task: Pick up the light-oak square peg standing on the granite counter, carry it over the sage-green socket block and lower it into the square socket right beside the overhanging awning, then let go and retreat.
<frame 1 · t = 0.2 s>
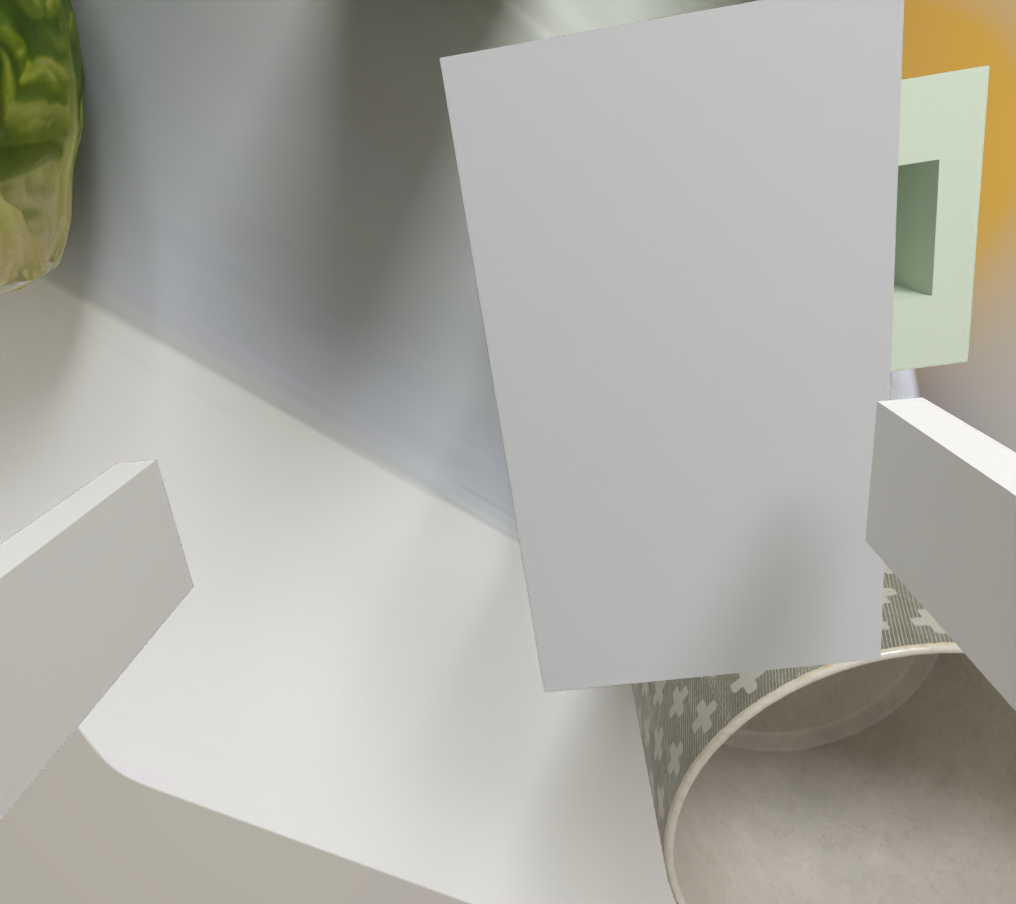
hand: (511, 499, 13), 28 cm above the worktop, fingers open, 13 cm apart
planter: (769, 594, 46), on the worktop
socket station: (721, 241, 38), on the worktop
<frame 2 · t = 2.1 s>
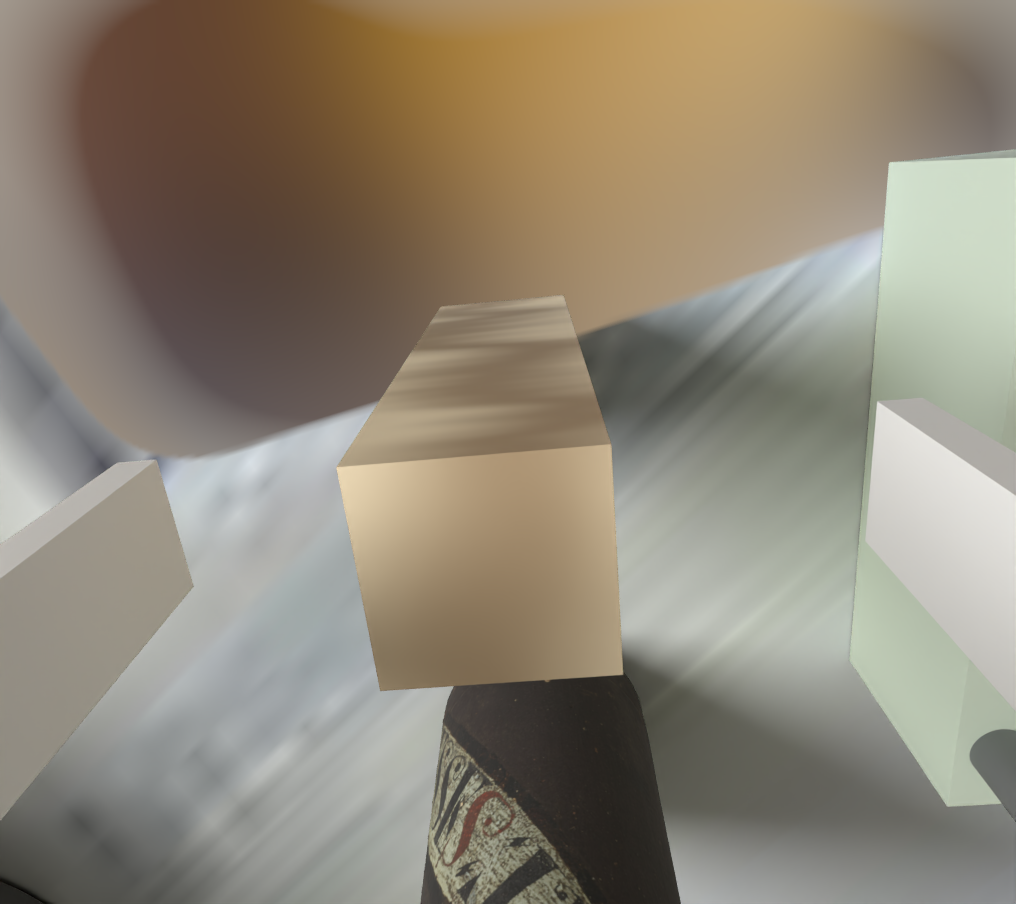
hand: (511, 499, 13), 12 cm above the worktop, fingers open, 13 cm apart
peg: (508, 360, 24), on the worktop
container: (544, 717, 30), on the worktop
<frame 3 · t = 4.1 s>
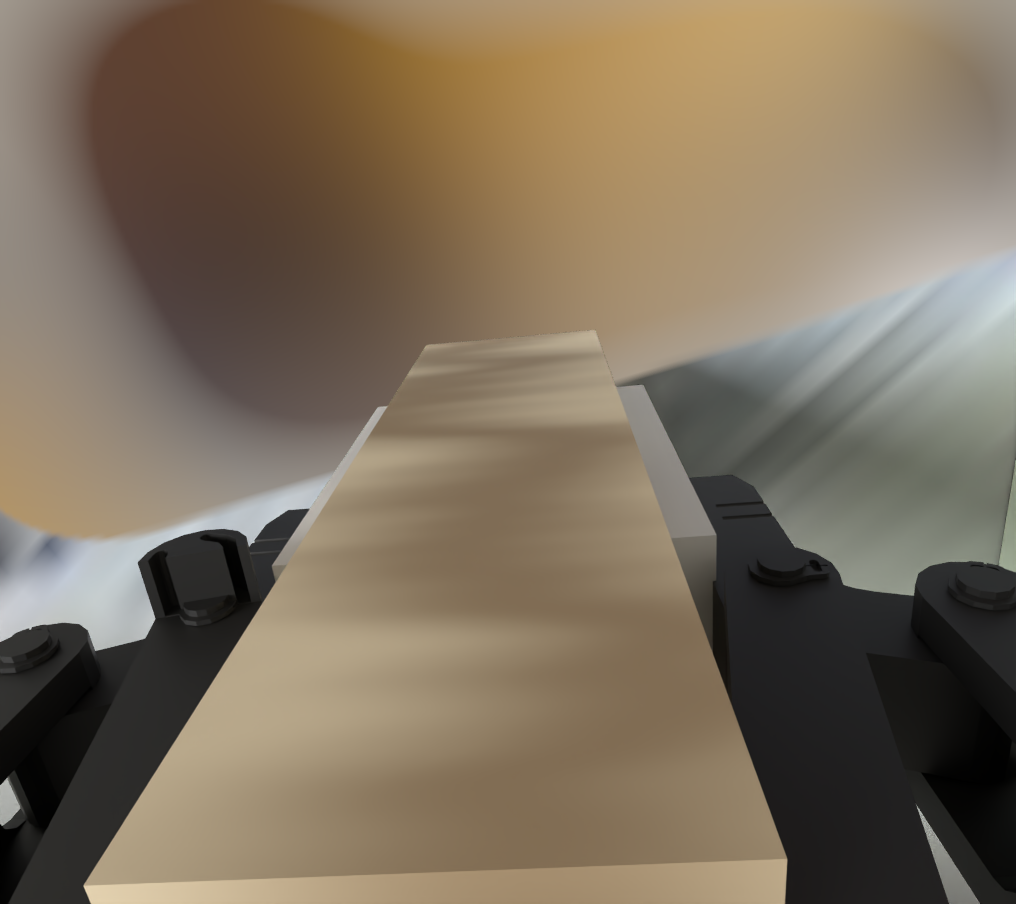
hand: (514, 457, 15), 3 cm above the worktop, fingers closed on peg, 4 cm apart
peg: (518, 417, 18), on the worktop, touching gripper
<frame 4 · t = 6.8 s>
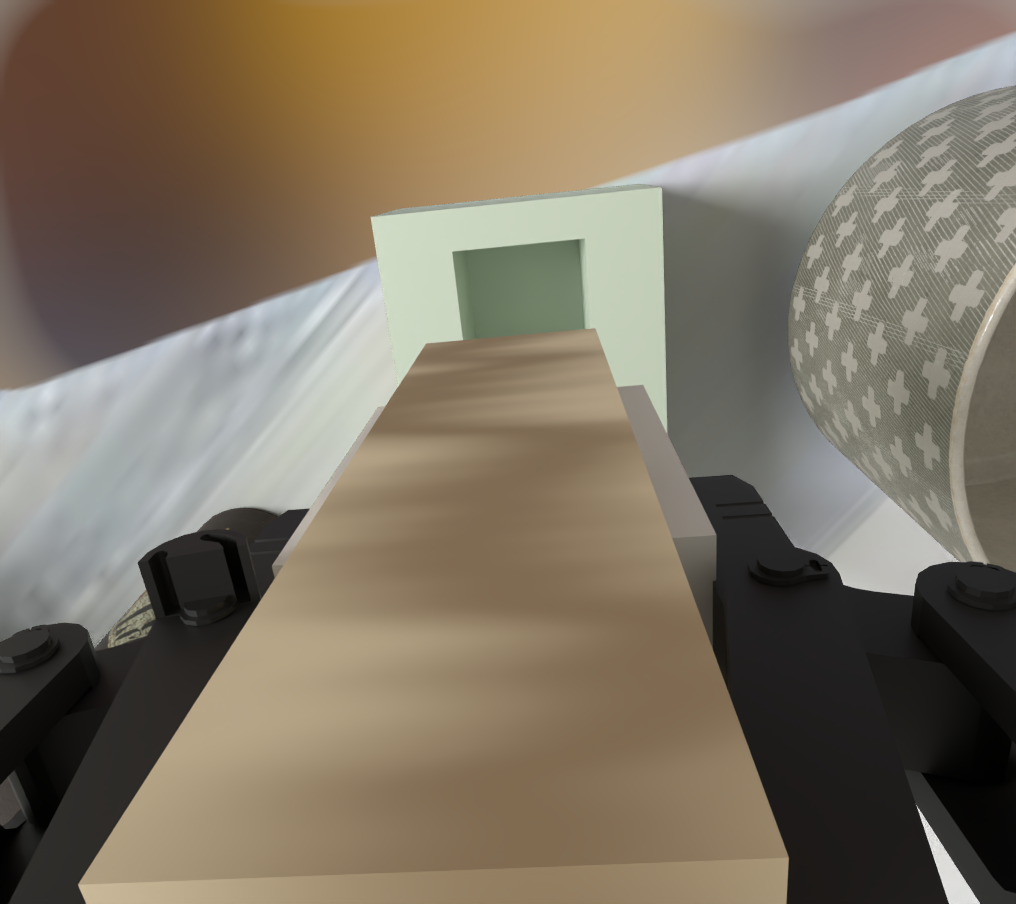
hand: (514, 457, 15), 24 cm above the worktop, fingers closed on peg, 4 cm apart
planter: (954, 295, 38), on the worktop
peg: (517, 416, 18), point 22 cm above the worktop, touching gripper
container: (258, 568, 45), on the worktop
socket station: (533, 371, 40), on the worktop
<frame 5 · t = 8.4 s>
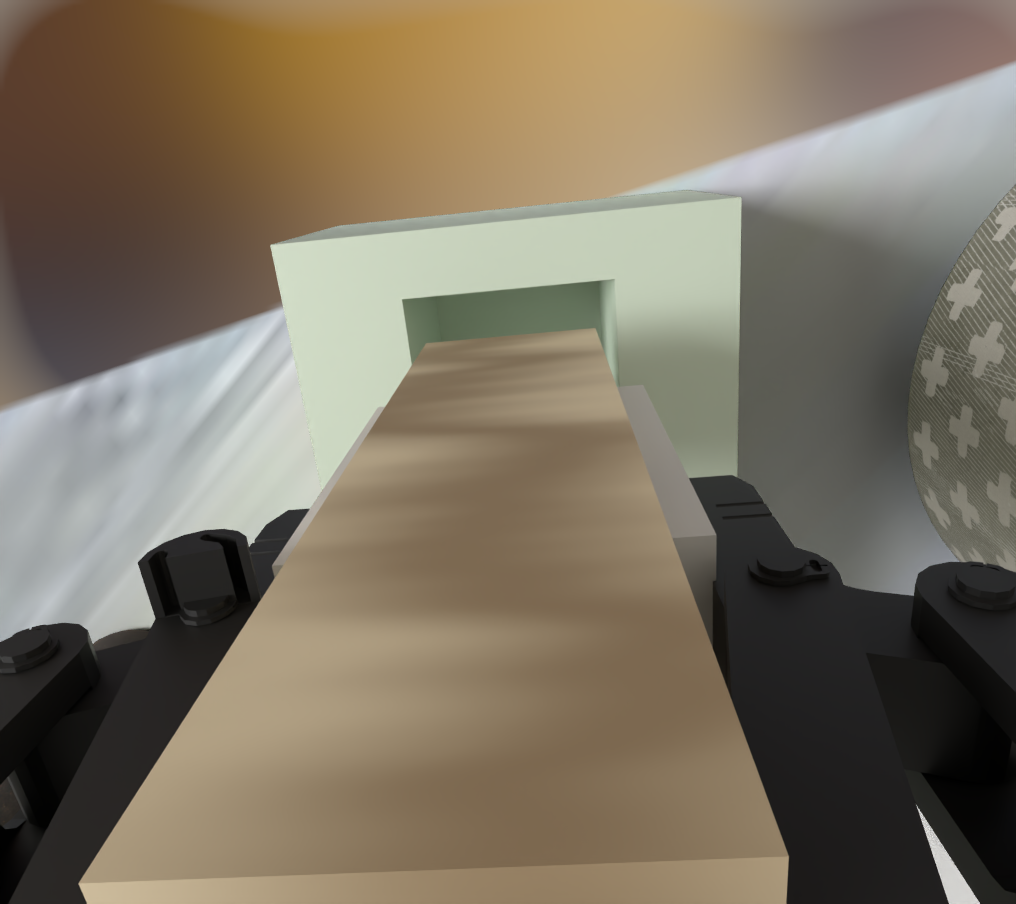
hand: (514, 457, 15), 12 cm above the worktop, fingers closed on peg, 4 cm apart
peg: (517, 416, 18), point 9 cm above the worktop, touching gripper
container: (163, 703, 33), on the worktop
socket station: (532, 452, 28), on the worktop
when the fingers open (8 cm above the worktop, at t = 9.7 s): peg drops 4 cm, resting on socket station.
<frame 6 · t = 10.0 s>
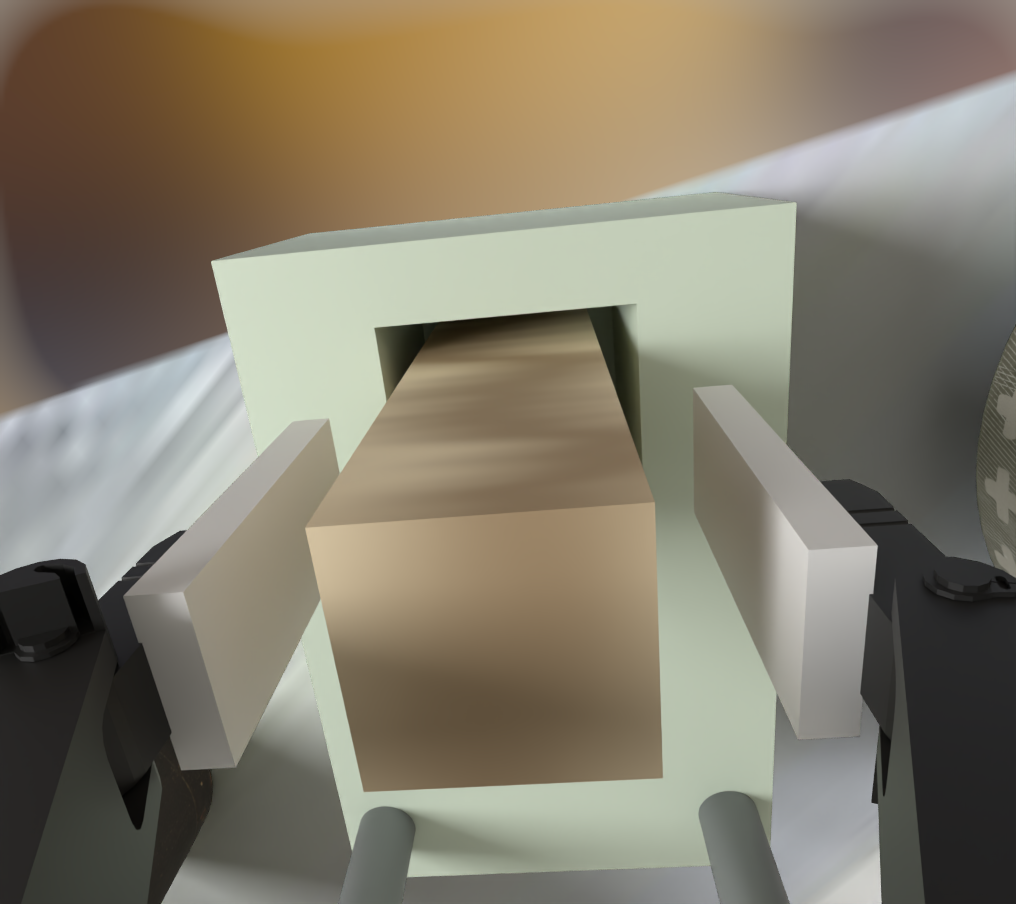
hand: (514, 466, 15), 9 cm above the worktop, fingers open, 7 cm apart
peg: (520, 369, 22), point 1 cm above the worktop, touching socket station
container: (121, 765, 30), on the worktop
socket station: (534, 492, 25), on the worktop
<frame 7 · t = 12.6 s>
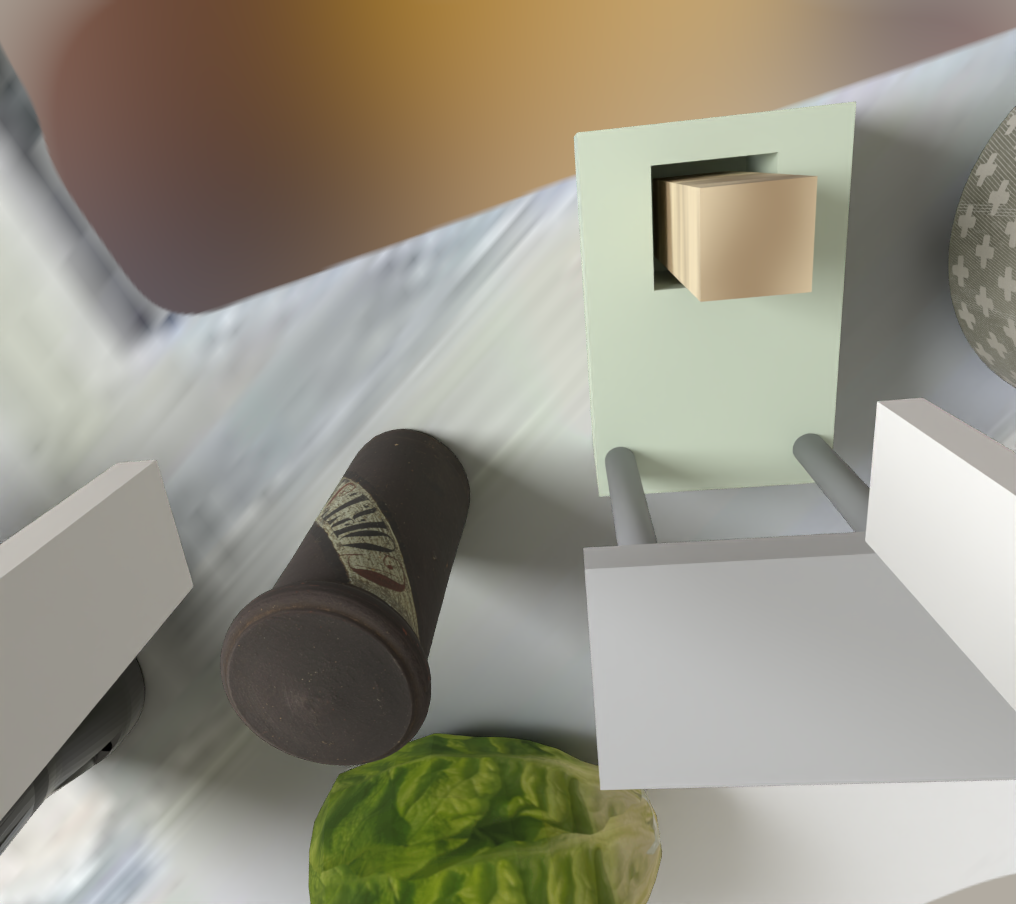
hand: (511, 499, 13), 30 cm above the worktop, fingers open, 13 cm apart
lettuce: (495, 768, 56), on the worktop
peg: (690, 214, 39), point 1 cm above the worktop, touching socket station
container: (410, 488, 48), on the worktop
socket station: (689, 295, 42), on the worktop
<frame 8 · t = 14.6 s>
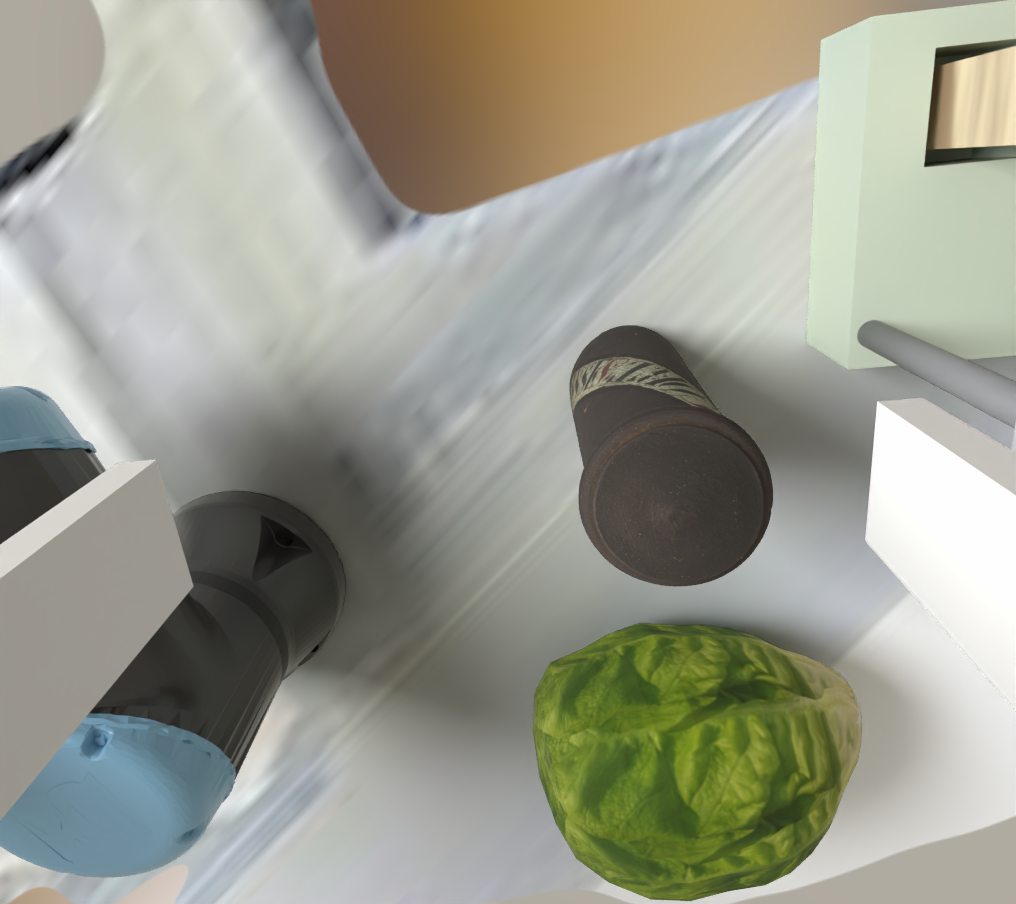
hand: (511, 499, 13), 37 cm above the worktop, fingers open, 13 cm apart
lettuce: (676, 667, 59), on the worktop
peg: (927, 111, 43), point 1 cm above the worktop, touching socket station
container: (627, 385, 51), on the worktop
socket station: (911, 192, 45), on the worktop
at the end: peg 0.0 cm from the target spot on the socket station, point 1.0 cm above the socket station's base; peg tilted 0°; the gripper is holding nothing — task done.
